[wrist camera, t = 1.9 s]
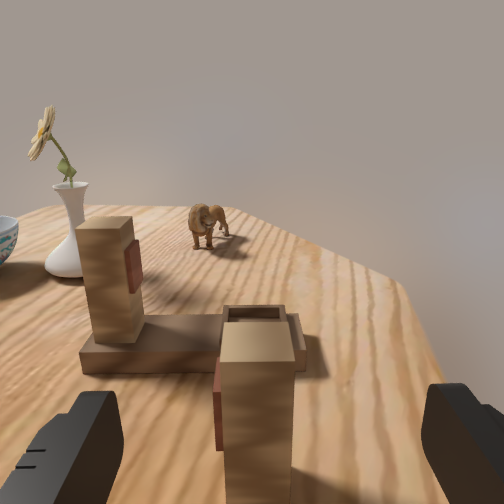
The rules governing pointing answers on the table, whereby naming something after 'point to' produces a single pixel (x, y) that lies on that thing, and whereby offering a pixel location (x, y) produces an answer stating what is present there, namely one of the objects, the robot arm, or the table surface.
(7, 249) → the chinaware
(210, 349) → the wooden block stand
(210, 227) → the lion figurine
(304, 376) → the table surface
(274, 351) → the tall wooden pillar
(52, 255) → the flower in vase
